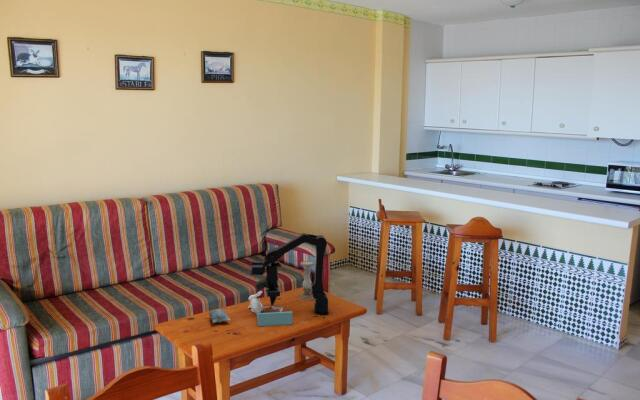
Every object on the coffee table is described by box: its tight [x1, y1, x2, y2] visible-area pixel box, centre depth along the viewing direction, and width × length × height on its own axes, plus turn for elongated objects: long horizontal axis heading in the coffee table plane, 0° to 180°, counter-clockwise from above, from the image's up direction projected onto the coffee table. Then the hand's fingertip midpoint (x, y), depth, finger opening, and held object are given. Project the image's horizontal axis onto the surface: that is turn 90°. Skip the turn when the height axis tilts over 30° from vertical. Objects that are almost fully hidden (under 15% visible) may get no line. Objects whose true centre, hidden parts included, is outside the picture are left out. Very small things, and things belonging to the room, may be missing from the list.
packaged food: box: [208, 308, 231, 324], centre depth 268 cm, size 9×12×5 cm
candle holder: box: [299, 260, 315, 301], centre depth 302 cm, size 9×9×20 cm
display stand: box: [256, 310, 293, 327], centre depth 268 cm, size 16×10×6 cm, turn 100°
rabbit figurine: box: [247, 290, 264, 314], centre depth 283 cm, size 12×8×10 cm, turn 30°
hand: (272, 304), depth 279 cm, fingers closed
